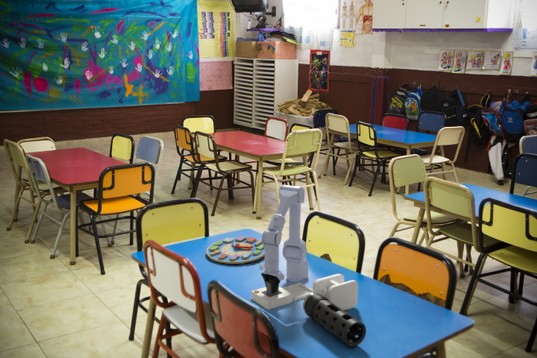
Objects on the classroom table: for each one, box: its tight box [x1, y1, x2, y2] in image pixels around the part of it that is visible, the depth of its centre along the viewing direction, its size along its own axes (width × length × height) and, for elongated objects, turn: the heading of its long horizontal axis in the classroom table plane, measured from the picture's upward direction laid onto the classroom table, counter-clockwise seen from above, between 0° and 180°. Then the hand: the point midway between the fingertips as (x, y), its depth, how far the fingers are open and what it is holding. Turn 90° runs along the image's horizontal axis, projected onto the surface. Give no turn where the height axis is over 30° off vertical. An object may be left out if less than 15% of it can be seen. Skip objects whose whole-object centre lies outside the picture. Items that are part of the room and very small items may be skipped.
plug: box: [265, 281, 280, 297], centre depth 234 cm, size 4×3×6 cm
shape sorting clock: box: [205, 235, 265, 265], centre depth 288 cm, size 31×30×6 cm
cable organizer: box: [312, 273, 359, 311], centre depth 230 cm, size 15×11×12 cm
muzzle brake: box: [302, 293, 367, 349], centre depth 210 cm, size 10×28×10 cm, turn 29°
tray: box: [282, 282, 313, 302], centre depth 242 cm, size 11×11×2 cm
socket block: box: [250, 286, 293, 310], centre depth 235 cm, size 12×12×5 cm
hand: (271, 291), depth 234 cm, fingers closed on plug, 3 cm apart
